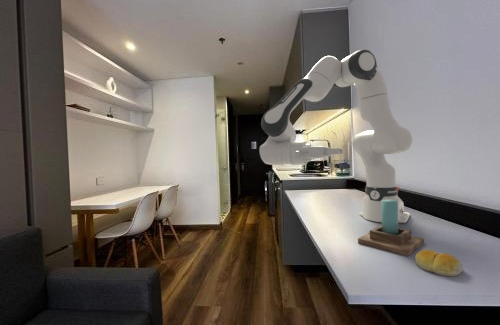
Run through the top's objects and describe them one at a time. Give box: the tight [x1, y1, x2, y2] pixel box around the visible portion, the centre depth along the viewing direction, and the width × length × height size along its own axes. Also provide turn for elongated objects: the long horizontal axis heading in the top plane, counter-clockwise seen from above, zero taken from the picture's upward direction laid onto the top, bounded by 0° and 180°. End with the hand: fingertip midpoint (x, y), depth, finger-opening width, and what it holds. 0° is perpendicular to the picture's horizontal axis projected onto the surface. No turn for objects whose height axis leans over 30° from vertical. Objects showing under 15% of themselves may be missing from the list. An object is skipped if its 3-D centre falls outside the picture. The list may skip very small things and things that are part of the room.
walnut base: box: [357, 224, 425, 257], centre depth 75 cm, size 14×14×4 cm
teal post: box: [381, 200, 399, 235], centre depth 75 cm, size 4×4×12 cm
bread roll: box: [415, 249, 464, 277], centre depth 58 cm, size 8×9×4 cm
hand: (341, 151), depth 81 cm, fingers open, 8 cm apart
